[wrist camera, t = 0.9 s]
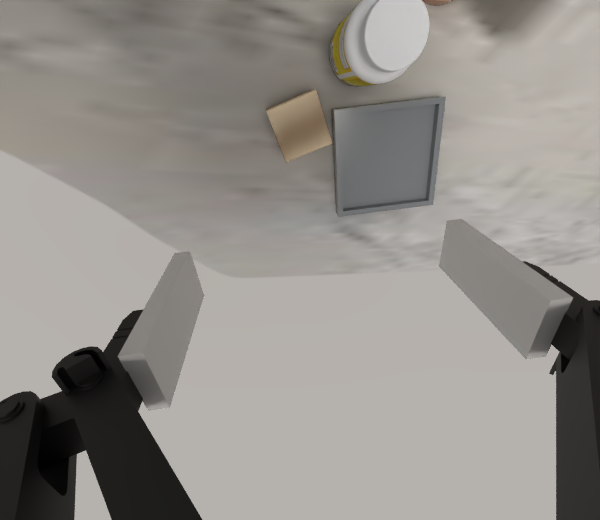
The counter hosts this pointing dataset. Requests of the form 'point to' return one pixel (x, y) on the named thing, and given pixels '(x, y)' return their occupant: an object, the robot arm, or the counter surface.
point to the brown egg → (436, 2)
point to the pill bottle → (379, 41)
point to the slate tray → (386, 155)
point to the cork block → (299, 125)
